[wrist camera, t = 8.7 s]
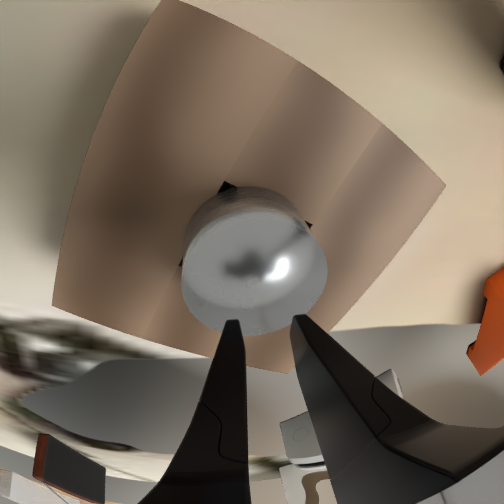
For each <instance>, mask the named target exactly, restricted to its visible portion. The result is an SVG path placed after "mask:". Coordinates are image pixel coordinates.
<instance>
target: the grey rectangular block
mask: <svg viewBox="0 0 504 504" xmlns="http://www.w3.org/2000/svg"><path fill="white" fill-rule="evenodd" d="M0 471H1V472H0V495H2V496H4V497H6V498H8V499H10V500H12V501H15V502H17V503H19V504H67V503H69V504H80V503H79V502H80V501H79V500H76V499H73V498H70V497H68V496H65V495H62V494H60V493H57V492H56V493H57V494H58V495H59V496H60V497H61V498H63V499H64V500H65V501H66V502H67V503H65V502H64V501H63V500H62V499H61V498H59V497H58V496H57V495H56V494H55V493H54V492H52V491H51V490H50V489H48V488H45V487H43V486H41V485H38V484H36V483H34V482H32V481H30V480H28V479H26V478H23V477H21V476H19V475H18V474H16V473H14V472H12V471H5V470H0Z"/></svg>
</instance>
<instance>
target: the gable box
mask: <svg viewBox="0 0 504 504" xmlns="http://www.w3.org/2000/svg"><path fill="white" fill-rule="evenodd" d="M279 471H280V476H281V480H282V484H283V489H284V493H285V497H286V502H287V504H318V503H319V496H318V493H317V491H316V488H315V486H316V484H317V482H319V481H320V480H324V479H330V478H329V475H328V472H327V469H320V470H302V469H300V468H298V467H296V466H295V464H290V465H287V466H283V467H280V468H279Z"/></svg>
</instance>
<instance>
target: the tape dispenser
mask: <svg viewBox="0 0 504 504" xmlns="http://www.w3.org/2000/svg"><path fill="white" fill-rule="evenodd" d="M483 295H484V296H485V297H486V298H487V299H488V300H487V304H486V308H485V312H484V316H483V319H482V323H481V326H480V330H479V333H478V336H477V339H476V340H475V341H474V342H472V343H471V344H470V345H468V348H467V352H466V354H467V356H468V357H469V359H470V360H471V362H472V363H473V365H474V366H475V368H476V369H477V371H478V373H479V374H480V376H481V375H482V374H484V373H485V372H487V371H488V370H489V369H491V368H492V367H493V366H495V365H496V364H497V363H498V362H499V361H501V360H502V359H503V358H504V268H502V269H501V270H500V271H498V272H497V273H495V274H494V275H493V276H491V277H490V278H488V279H487V280H486V284H485V289H484V294H483Z"/></svg>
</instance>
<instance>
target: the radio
mask: <svg viewBox="0 0 504 504" xmlns="http://www.w3.org/2000/svg"><path fill="white" fill-rule="evenodd" d="M105 474H106V468H105V467H103V466H101V465H99V464H97V463H96V462H94V461H92V460H90V459H88V458H87V457H85V456H83V455H81V454H80V453H78V452H76V451H75V450H73V449H71V448H70V447H68V446H66V445H65V444H63V443H62V442H60V441H59V440H57V439H56V438H54V437H53V436H51V435H47V434H39V436H38V441H37V447H36V453H35V459H34V466H33V477H34V478H35V479H37V480H39V481H41V482H43V483H44V484H45V485H46V486H47V487H48V488H49V489H50V490H51V491H52V492H54V493H55V494H56V495H57V496H58V497H59V498H61V497H60V496H59V495H58V494H57V493H56V492H55V491H53V490H52V489H51V488H50V487H49V486H48V485H50V486H52V487H54V488H56V489H59V490H61V491H63V492H66V493H68V494H70V495H73V496H75V497H78V498H80V499H83V500H86V501H88V502H91V503H96V504H105ZM47 484H48V485H47ZM61 499H62V500H63V501H64V502H65V503H67V502H66V501H65V500H64V499H63V498H61ZM67 504H69V503H67Z"/></svg>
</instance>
